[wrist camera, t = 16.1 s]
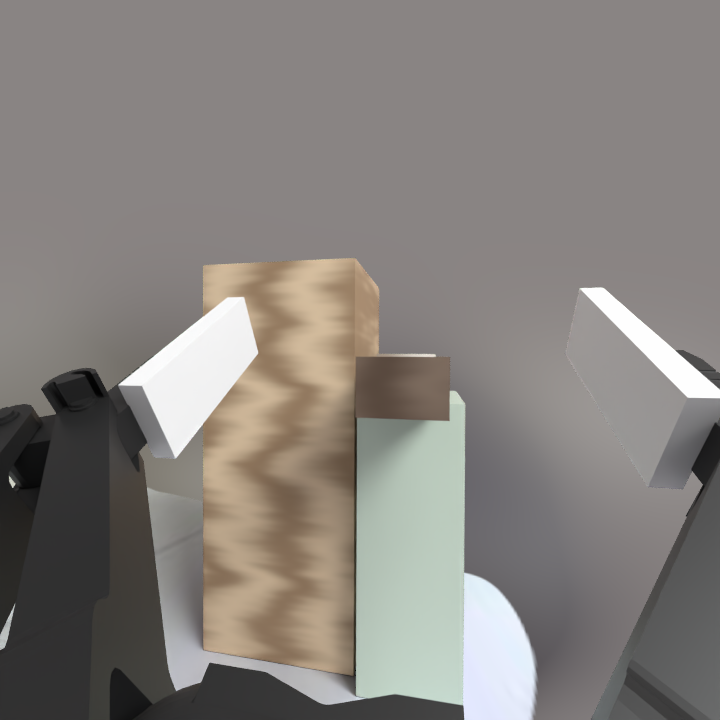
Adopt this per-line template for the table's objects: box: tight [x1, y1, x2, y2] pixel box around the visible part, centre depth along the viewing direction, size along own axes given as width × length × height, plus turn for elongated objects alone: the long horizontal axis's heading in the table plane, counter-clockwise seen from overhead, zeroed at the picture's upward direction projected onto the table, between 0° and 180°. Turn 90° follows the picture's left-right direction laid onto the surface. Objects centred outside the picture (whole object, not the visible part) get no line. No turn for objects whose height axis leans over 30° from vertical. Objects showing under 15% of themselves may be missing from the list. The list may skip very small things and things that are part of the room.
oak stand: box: [203, 258, 379, 676], centre depth 34 cm, size 12×12×30 cm
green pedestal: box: [356, 391, 465, 705], centre depth 29 cm, size 7×9×20 cm
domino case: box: [355, 354, 450, 421], centre depth 29 cm, size 4×22×3 cm, turn 169°
